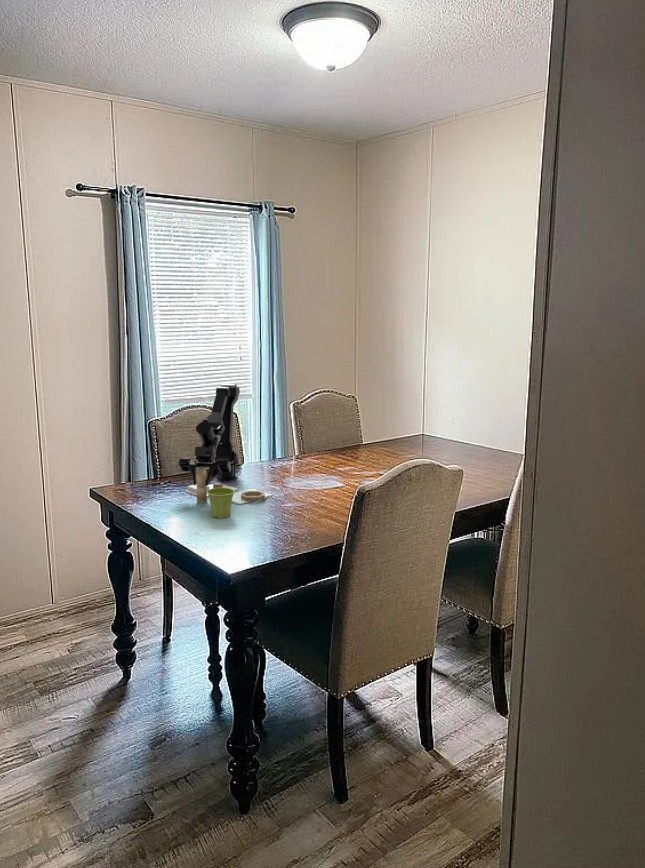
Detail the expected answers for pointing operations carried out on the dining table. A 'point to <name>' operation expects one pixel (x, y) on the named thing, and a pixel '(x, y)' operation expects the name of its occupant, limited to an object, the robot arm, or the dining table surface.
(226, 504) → the plant pot
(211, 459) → the robot arm
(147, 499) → the dining table surface
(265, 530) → the dining table surface
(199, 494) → the dowel
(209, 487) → the tile
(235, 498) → the board
